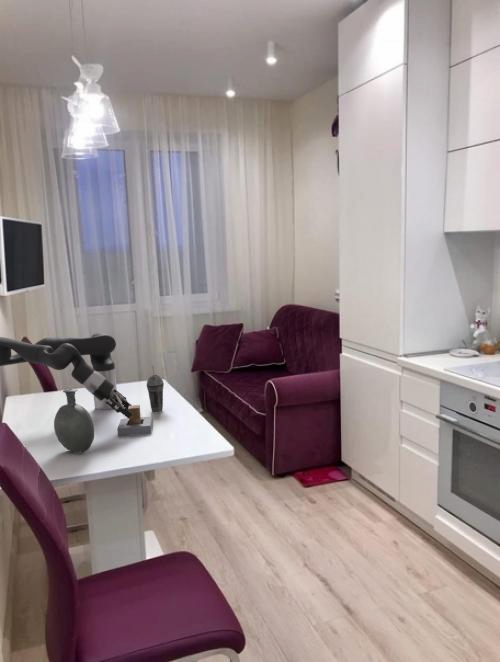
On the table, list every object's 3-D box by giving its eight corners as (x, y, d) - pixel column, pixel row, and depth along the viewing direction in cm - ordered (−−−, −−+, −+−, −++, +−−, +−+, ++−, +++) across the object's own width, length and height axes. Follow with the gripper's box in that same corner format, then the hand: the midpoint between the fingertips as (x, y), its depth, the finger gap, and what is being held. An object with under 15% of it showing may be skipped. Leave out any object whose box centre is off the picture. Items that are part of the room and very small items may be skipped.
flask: (88, 442, 188) (82, 382, 185) (99, 456, 174) (93, 391, 171) (54, 449, 183) (47, 387, 180) (63, 464, 168) (56, 397, 165)
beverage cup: (167, 408, 227) (164, 363, 224) (163, 413, 220) (159, 366, 217) (151, 408, 228) (147, 363, 225) (146, 413, 221) (142, 367, 218)
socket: (117, 436, 193) (117, 428, 193) (121, 426, 205) (121, 418, 204) (151, 433, 194) (150, 425, 194) (152, 423, 206) (152, 416, 206)
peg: (130, 431, 198) (128, 408, 196) (130, 428, 201) (129, 405, 200) (140, 430, 198) (139, 407, 197) (141, 427, 202) (139, 404, 201)
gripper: (94, 388, 202) (127, 415, 205) (87, 397, 188) (122, 426, 191) (107, 374, 202) (140, 401, 205) (102, 382, 188) (136, 411, 191)
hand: (131, 413), depth 198 cm, fingers open, 8 cm apart
